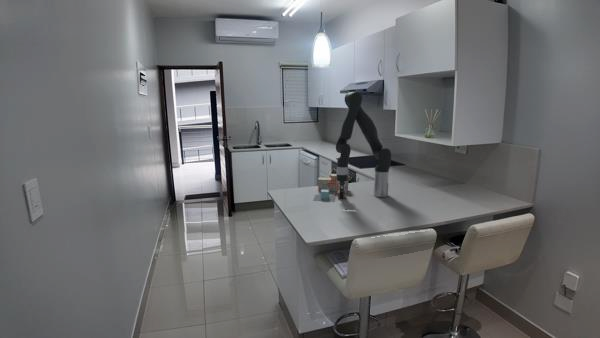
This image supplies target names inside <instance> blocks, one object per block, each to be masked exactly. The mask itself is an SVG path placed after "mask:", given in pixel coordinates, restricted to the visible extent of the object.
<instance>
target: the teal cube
mask: <svg viewBox="0 0 600 338" xmlns="http://www.w3.org/2000/svg"><path fill="white" fill-rule="evenodd" d="M320 195H321V199H329V195H330V191H329V190H321V191H320Z"/></svg>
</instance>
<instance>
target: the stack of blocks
mask: <svg viewBox="0 0 600 338" xmlns="http://www.w3.org/2000/svg"><path fill="white" fill-rule="evenodd" d="M349 177H350V176H349V175H348V181H344V183H345V190H344V191H346V192H349V182H350V181H349V179H350V178H349ZM336 178H337V173H331V174H330V177H318V183H317V185H318V186H317V190H318V191H319V192H321V190H329V192H338V190H339V183H340V181H337V179H336Z"/></svg>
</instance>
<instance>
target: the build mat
mask: <svg viewBox="0 0 600 338" xmlns="http://www.w3.org/2000/svg"><path fill="white" fill-rule="evenodd" d="M336 198H337V196H336V195H333V194H332V195H330V194H329V199H321V194H315V195H314V197H313V199H312V201H313V202H330V203H331V202H333V203H335V202H336Z"/></svg>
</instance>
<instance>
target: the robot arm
mask: <svg viewBox="0 0 600 338" xmlns="http://www.w3.org/2000/svg"><path fill="white" fill-rule="evenodd" d="M362 103H363V95H362V94H361V92H359V91H350V92H348V93H346V94H345V95H344V104H345V105H346V107H347V108H348V111H347V115H346V117H345V119H344V121H343V122H342V125H341V129H340V135H339V137H338V139H337V141H336V144H335V151H336V153H339V155H340V156H339V157H338V158H337V161H336V162H337V163H336V165H337V166H336V174H337V178H336V179H337V181H340V183H339V190H340V200H344V199H343V194H344V190H345V183H344V181H348V180H349V178H348V176H349V159H350V155H351V151H352V150H351V149H352V148H351V146H350V144H349V143H348V141H349V140H351V138H352V134H353V130H354V125H355V123H357V125H358V127H359V129H360V131H361V133H362V135H363V136H364V138H365V140H366V142H367V143H368V145H369V147H370V149H371V151H372V152H371V153H372V154H373V157H374V158H375V159H376V160H377V164H376V166H375V167H374V177H373V178H374V183H373V196H374V197H378V198H387V197H388V196H389V176H390V175H389V174H390V173H389V172H390V168H391V163H392V162H391V161H392V152H391V150H390V149H389V148H387V147H384V146H383V145H382V143H381V141H380V139H379V133H378V129H377V127H376V124H375V123H374V120H372V118H371V117H370V116H369V114H367V113H366V111H364V109H363V108H362ZM341 191H343V192H341Z"/></svg>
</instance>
